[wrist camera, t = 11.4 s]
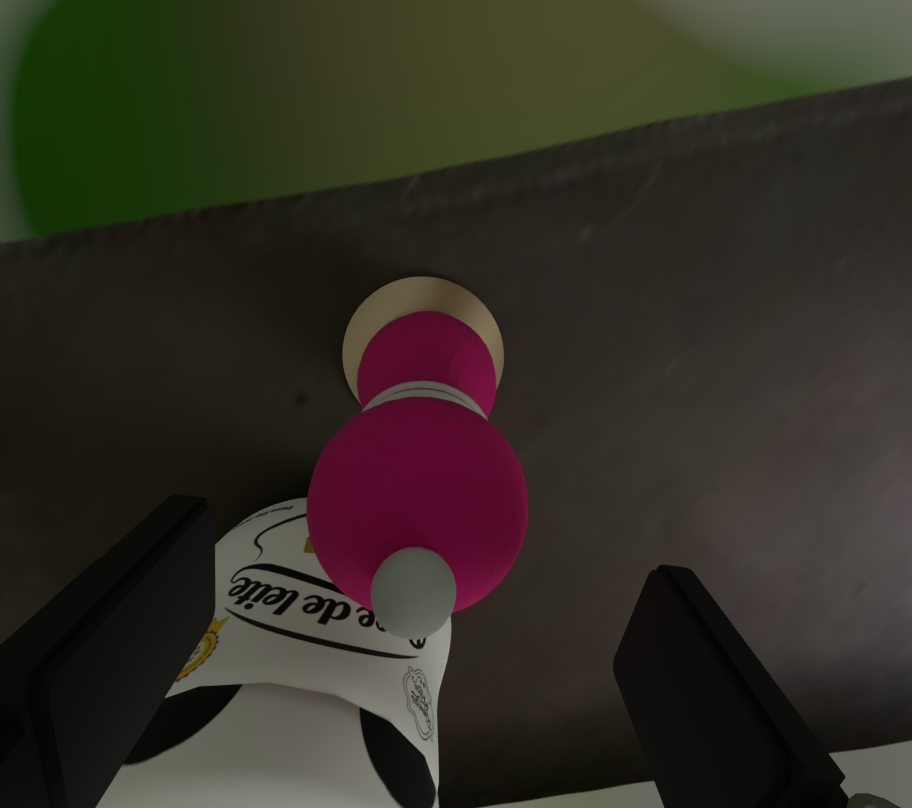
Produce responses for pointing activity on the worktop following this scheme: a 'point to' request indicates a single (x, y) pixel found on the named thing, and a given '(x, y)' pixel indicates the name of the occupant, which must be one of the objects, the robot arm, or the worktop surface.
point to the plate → (414, 298)
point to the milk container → (290, 693)
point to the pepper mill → (419, 480)
